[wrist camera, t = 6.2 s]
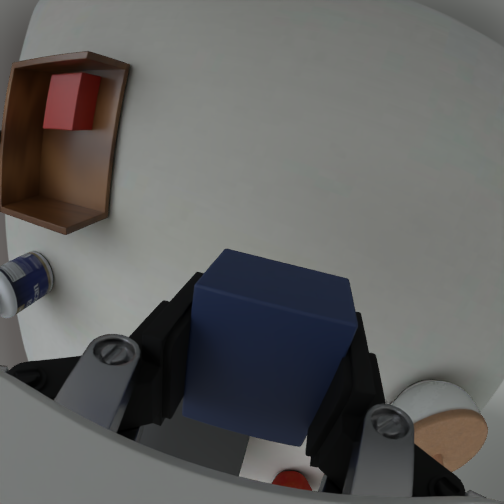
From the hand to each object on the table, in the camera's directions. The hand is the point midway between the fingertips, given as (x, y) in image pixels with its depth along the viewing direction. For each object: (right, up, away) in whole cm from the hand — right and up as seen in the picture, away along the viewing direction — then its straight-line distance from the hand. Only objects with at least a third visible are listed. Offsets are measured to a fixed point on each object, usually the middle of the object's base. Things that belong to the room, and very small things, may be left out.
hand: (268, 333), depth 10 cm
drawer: (-19, +14, +15) cm, 28 cm away
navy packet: (0, 0, 0) cm, 0 cm away
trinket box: (+17, -13, +17) cm, 28 cm away
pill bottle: (-26, 0, +21) cm, 33 cm away
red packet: (-16, +16, +13) cm, 26 cm away
